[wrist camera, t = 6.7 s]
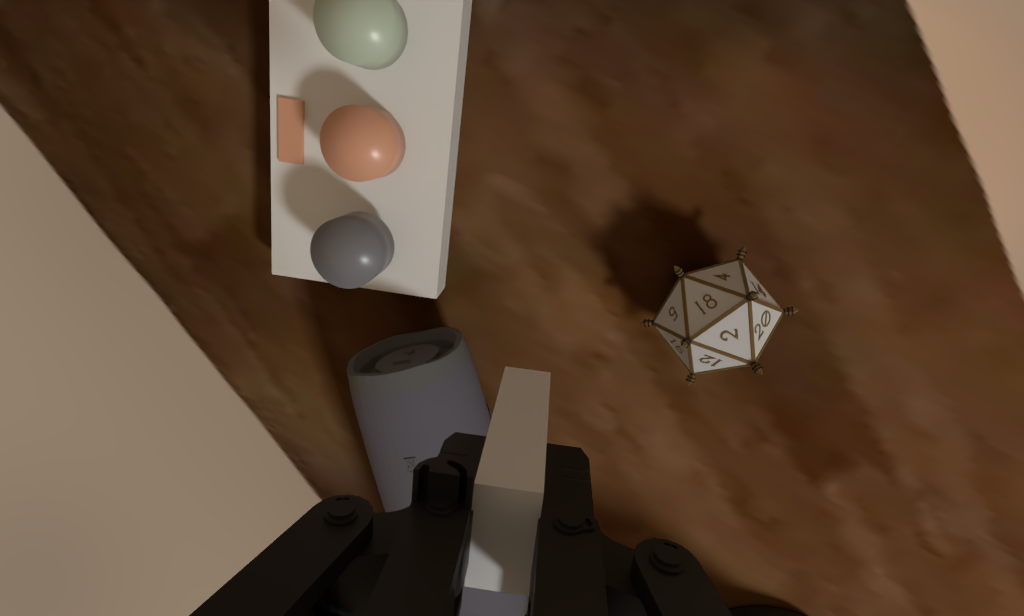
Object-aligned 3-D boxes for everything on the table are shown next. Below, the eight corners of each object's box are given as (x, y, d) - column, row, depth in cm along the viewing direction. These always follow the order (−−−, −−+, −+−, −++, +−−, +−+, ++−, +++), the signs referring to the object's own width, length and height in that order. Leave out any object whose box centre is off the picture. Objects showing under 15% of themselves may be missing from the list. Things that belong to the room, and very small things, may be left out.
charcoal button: (392, 281, 37) (378, 293, 34) (329, 271, 37) (309, 283, 34) (396, 216, 35) (382, 223, 32) (330, 206, 35) (310, 213, 33)
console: (444, 287, 41) (435, 300, 38) (291, 264, 42) (269, 275, 39) (473, -8, 35) (464, -22, 32) (292, -31, 35) (265, -48, 32)
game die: (689, 261, 43) (761, 200, 33) (761, 349, 41) (857, 310, 32) (604, 322, 40) (654, 275, 31) (676, 417, 39) (753, 398, 29)
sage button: (405, 74, 33) (390, 68, 30) (334, 64, 33) (312, 58, 30) (410, -8, 31) (395, -22, 28) (336, -18, 31) (313, -33, 28)
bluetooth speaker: (367, 333, 43) (312, 390, 34) (480, 312, 42) (456, 366, 32) (438, 563, 49) (410, 665, 40) (539, 551, 48) (533, 654, 39)
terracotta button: (403, 182, 36) (389, 186, 33) (338, 173, 36) (318, 176, 33) (408, 112, 34) (394, 110, 31) (340, 102, 34) (320, 99, 32)
